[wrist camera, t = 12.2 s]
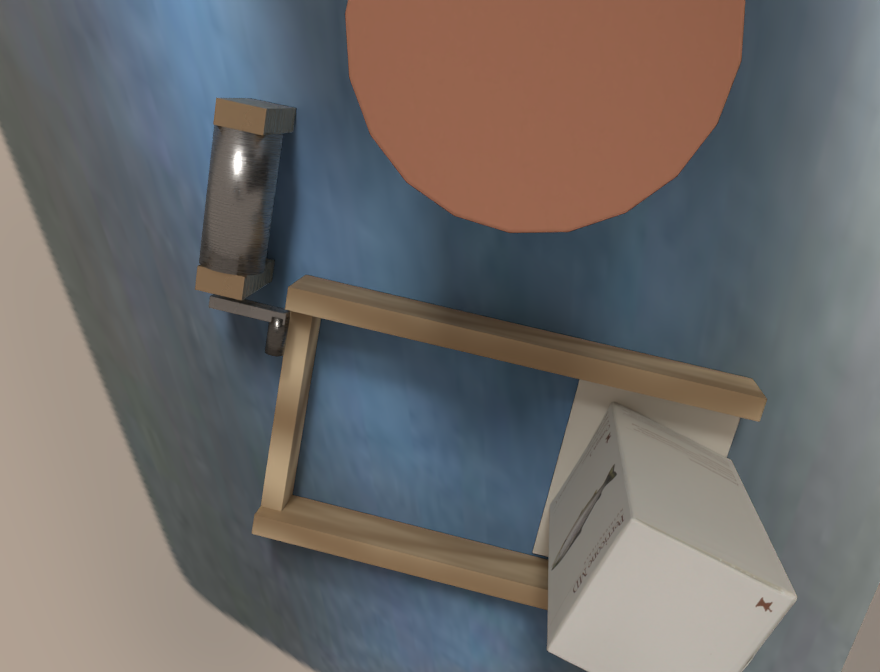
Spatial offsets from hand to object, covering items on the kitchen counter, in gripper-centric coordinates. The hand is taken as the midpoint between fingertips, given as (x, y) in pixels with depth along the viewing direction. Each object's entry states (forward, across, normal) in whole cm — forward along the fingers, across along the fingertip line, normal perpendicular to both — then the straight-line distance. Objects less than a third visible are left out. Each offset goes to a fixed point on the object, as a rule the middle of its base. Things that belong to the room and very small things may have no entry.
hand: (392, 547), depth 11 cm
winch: (+31, -12, -2) cm, 33 cm away
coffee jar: (+31, 0, +8) cm, 32 cm away
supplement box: (+31, +10, -12) cm, 34 cm away
